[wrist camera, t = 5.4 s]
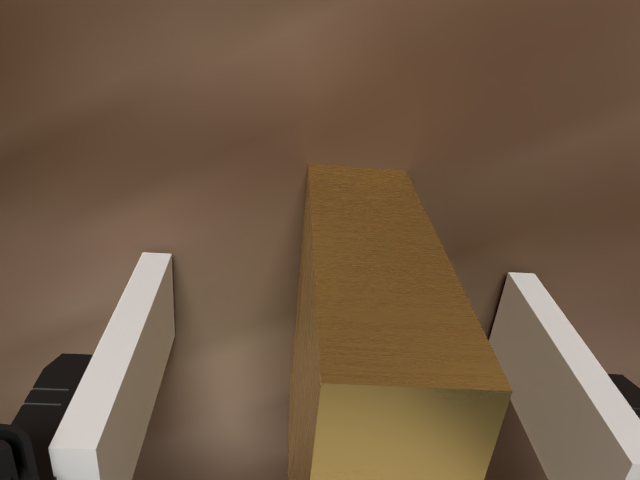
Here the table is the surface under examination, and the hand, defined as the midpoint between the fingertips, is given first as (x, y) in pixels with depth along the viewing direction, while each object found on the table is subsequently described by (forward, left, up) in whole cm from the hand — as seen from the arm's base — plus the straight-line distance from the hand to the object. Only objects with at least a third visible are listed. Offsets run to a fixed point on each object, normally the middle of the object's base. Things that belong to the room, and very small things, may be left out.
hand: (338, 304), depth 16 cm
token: (0, 0, 0) cm, 0 cm away
